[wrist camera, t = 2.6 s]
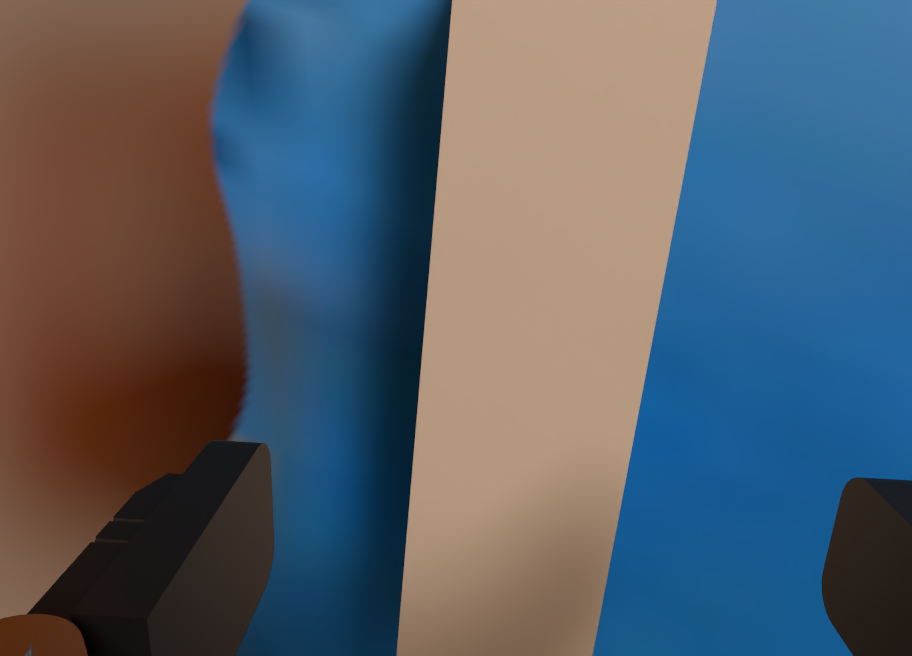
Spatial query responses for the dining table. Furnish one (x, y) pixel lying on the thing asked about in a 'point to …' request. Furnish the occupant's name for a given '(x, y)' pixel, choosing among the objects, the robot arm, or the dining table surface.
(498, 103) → the beige long block
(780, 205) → the dining table surface
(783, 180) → the dining table surface
